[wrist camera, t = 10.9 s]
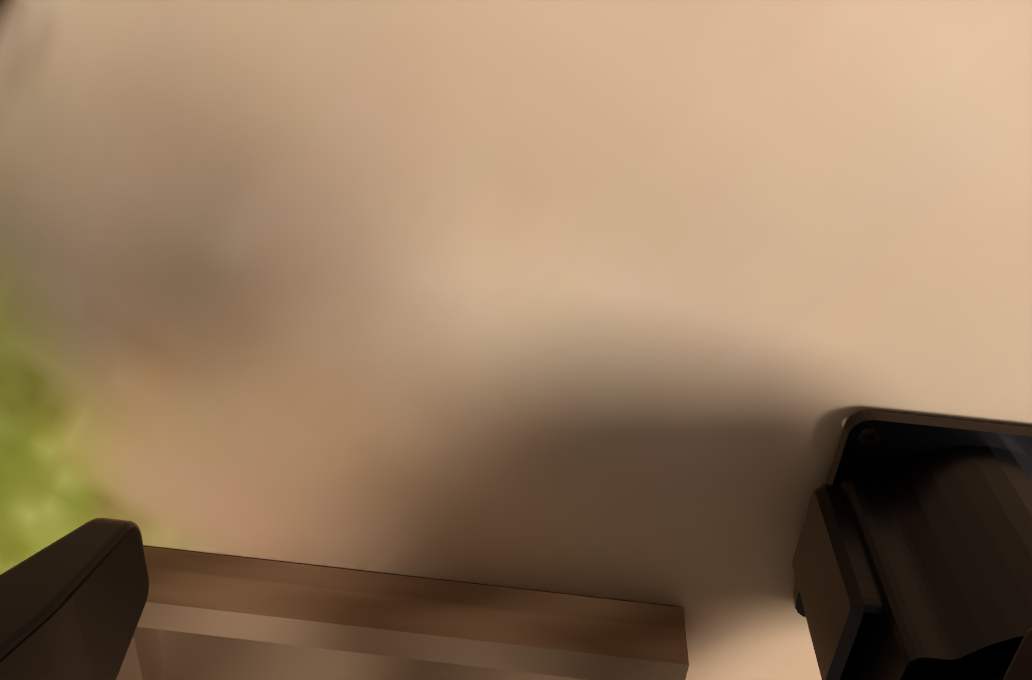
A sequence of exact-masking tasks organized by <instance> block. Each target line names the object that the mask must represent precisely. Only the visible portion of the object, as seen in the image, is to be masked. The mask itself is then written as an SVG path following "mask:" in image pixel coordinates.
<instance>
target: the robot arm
mask: <svg viewBox="0 0 1032 680" xmlns="http://www.w3.org/2000/svg"><path fill="white" fill-rule="evenodd" d="M870 428H873V429H875V431H874V432H873V433H872V434H870V435H868V436H860V435H859V434H860V433H861V432H862V431H863V430H865V429H870ZM793 568H794V572H795V576H796V583H795V586H794V590H793V600H794V604H795V608H796V610H797V612H798V613H799V614H801V615H802V616H804V617H806V619H807V623H808V627H809V631H810V635H811V638H812V642H813V646H814V650H815V654H816V658H817V662H818V666H819V670H820V674H821V678H822V680H1032V427H1025V426H1015V425H1006V424H996V423H987V422H977V421H968V420H958V419H949V418H939V417H930V416H920V415H911V414H901V413H892V412H882V411H873V410H867V411H860V412H857V413H855V414H853V415H852V416H851V417H849V418H848V419H847V421H846V423H845V425H844V427H843V430H842V434H841V437H840V440H839V443H838V447H837V450H836V453H835V456H834V460H833V463H832V466H831V469H830V473H829V476H828V479H827V482H826V484H822V485H821V486H819V487H818V488H817V489H816V490H815V491H814V492H813V495H812V498H811V502H810V505H809V508H808V512H807V515H806V518H805V522H804V525H803V528H802V532H801V535H800V538H799V542H798V545H797V548H796V552H795V555H794V558H793ZM148 592H149V576H148V570H147V564H146V559H145V553H144V547H143V542H142V536H141V532H140V529H139V527H138V526H137V524H135V523H134V522H131V521H126V520H117V519H108V518H96V519H93V520H91V521H89V522H87V523H85V524H84V525H82V526H80V527H79V528H77V529H75V530H74V531H72V532H71V533H69V534H67V535H66V536H64V537H62V538H61V539H59V540H57V541H56V542H54V543H52V544H51V545H49V546H47V547H46V548H44V549H42V550H41V551H39V552H37V553H36V554H34V555H33V556H31V557H29V558H28V559H26V560H24V561H23V562H21V563H19V564H18V565H16V566H14V567H13V568H11V569H9V570H8V571H6V572H4V573H3V574H1V575H0V680H116V679H117V676H118V674H119V671H120V669H121V666H122V664H123V661H124V658H125V656H126V653H127V651H128V648H129V646H130V643H131V640H132V638H133V635H134V633H135V630H136V627H137V625H138V622H139V620H140V617H141V615H142V612H143V609H144V607H145V604H146V601H147V597H148Z"/></svg>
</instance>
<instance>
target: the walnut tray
mask: <svg viewBox="0 0 1032 680" xmlns="http://www.w3.org/2000/svg"><path fill="white" fill-rule="evenodd" d="M143 547H144V553H145V559H146V564H147V570H148V576H149V592H148V597H147V601H146V604H145V607H144V609H143V612H142V615H141V617H140V620H139V622H138V625H137V627H136V630H135V633H134V635H133V638H132V640H131V643H130V646H129V648H128V651H127V653H126V656H125V658H124V661H123V664H122V666H121V669H120V671H119V674H118V676H117V679H116V680H685V679H686V674H687V670H688V666H689V662H688V652H687V643H686V633H685V623H684V613H683V608H681V607H673V606H664V605H655V604H646V603H638V602H629V601H620V600H611V599H602V598H594V597H585V596H576V595H567V594H559V593H550V592H541V591H532V590H523V589H515V588H506V587H497V586H488V585H480V584H471V583H462V582H453V581H444V580H436V579H427V578H418V577H409V576H401V575H392V574H383V573H374V572H366V571H357V570H348V569H339V568H330V567H322V566H313V565H304V564H295V563H287V562H278V561H269V560H260V559H251V558H243V557H234V556H225V555H216V554H208V553H199V552H190V551H181V550H172V549H164V548H155V547H146V546H143Z"/></svg>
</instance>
